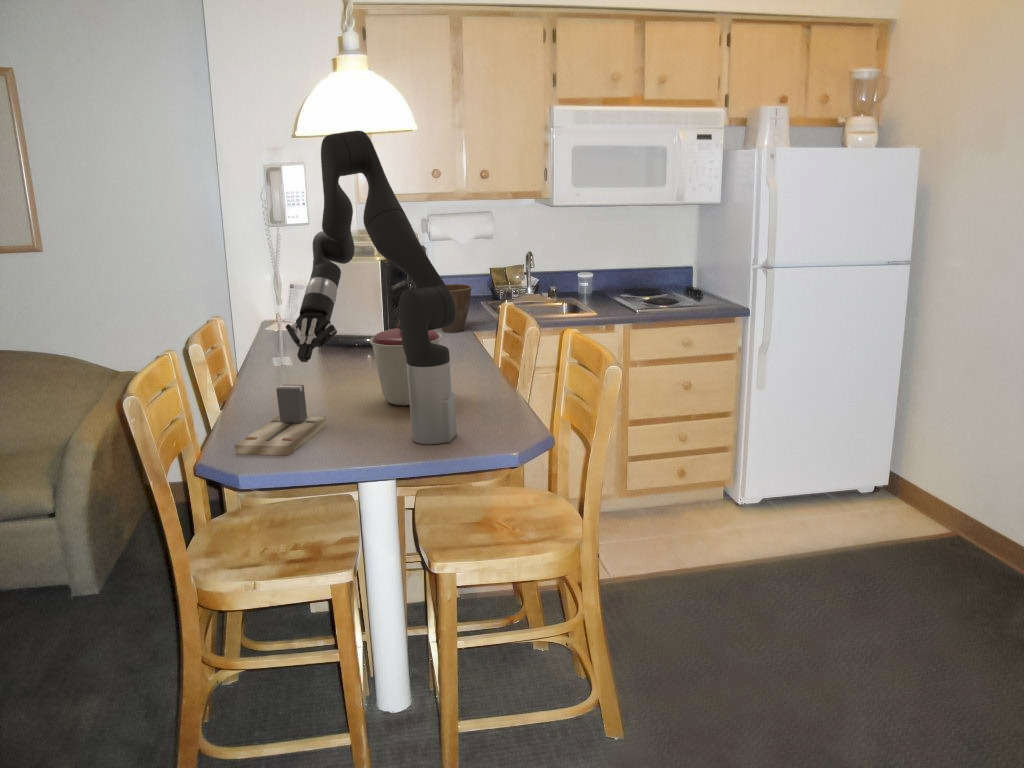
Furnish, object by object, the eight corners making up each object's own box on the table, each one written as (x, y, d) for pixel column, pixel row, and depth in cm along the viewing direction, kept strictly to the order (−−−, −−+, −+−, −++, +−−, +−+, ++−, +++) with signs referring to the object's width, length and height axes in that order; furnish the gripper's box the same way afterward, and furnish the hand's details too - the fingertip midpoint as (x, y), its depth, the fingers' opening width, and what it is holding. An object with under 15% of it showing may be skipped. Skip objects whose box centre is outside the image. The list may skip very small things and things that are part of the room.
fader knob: (307, 418, 180) (304, 384, 178) (301, 422, 177) (297, 388, 175) (286, 417, 181) (282, 384, 179) (280, 422, 178) (275, 388, 176)
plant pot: (480, 331, 282) (478, 287, 278) (443, 336, 275) (440, 291, 271) (462, 325, 294) (459, 283, 290) (426, 330, 287) (423, 287, 283)
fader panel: (326, 425, 183) (325, 416, 182) (288, 455, 164) (287, 445, 163) (279, 423, 185) (277, 415, 184) (235, 453, 166) (234, 444, 165)
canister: (459, 396, 202) (455, 316, 197) (413, 414, 188) (407, 329, 182) (407, 387, 212) (401, 311, 206) (360, 404, 198) (352, 323, 192)
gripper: (288, 291, 190) (270, 351, 182) (339, 291, 187) (323, 352, 179) (300, 308, 196) (283, 368, 188) (349, 308, 194) (334, 368, 186)
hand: (303, 360), depth 184 cm, fingers closed
